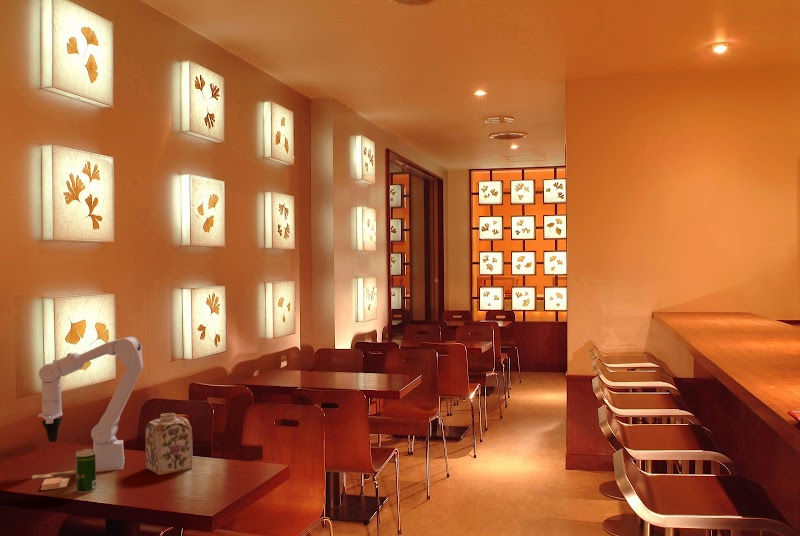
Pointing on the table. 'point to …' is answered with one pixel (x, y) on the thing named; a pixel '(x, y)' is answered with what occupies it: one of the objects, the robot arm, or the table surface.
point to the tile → (52, 483)
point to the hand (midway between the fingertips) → (52, 441)
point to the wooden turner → (52, 474)
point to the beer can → (86, 470)
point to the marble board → (64, 482)
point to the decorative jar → (169, 444)
